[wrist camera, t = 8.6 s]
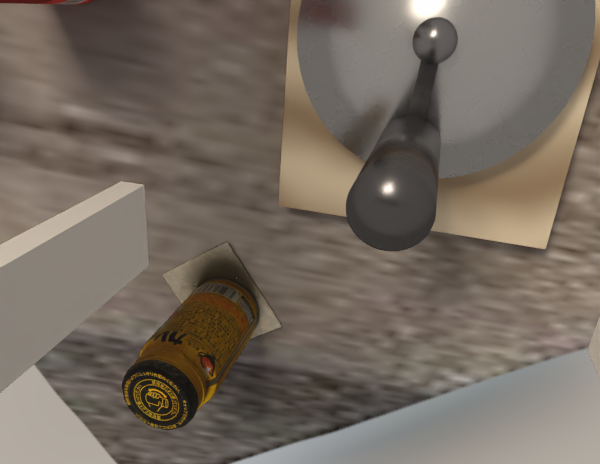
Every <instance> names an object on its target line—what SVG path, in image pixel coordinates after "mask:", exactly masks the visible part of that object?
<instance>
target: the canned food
mask: <svg viewBox="0 0 600 464" xmlns="http://www.w3.org/2000/svg"><path fill="white" fill-rule="evenodd" d="M90 1H93V0H0V3H27V4H84V3H88V2H90Z"/></svg>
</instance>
